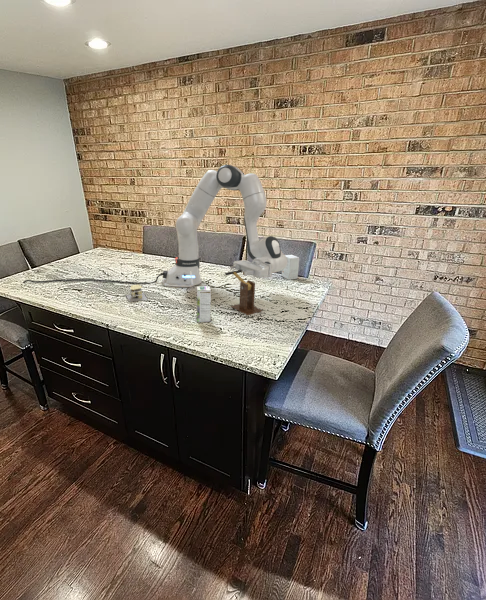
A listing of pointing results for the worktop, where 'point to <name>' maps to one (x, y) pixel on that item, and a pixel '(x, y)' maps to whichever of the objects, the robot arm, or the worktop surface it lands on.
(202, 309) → the syrup box
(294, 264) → the small box
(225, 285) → the worktop surface
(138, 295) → the stacked layers on plate
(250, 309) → the bracket
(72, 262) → the worktop surface
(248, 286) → the lever
